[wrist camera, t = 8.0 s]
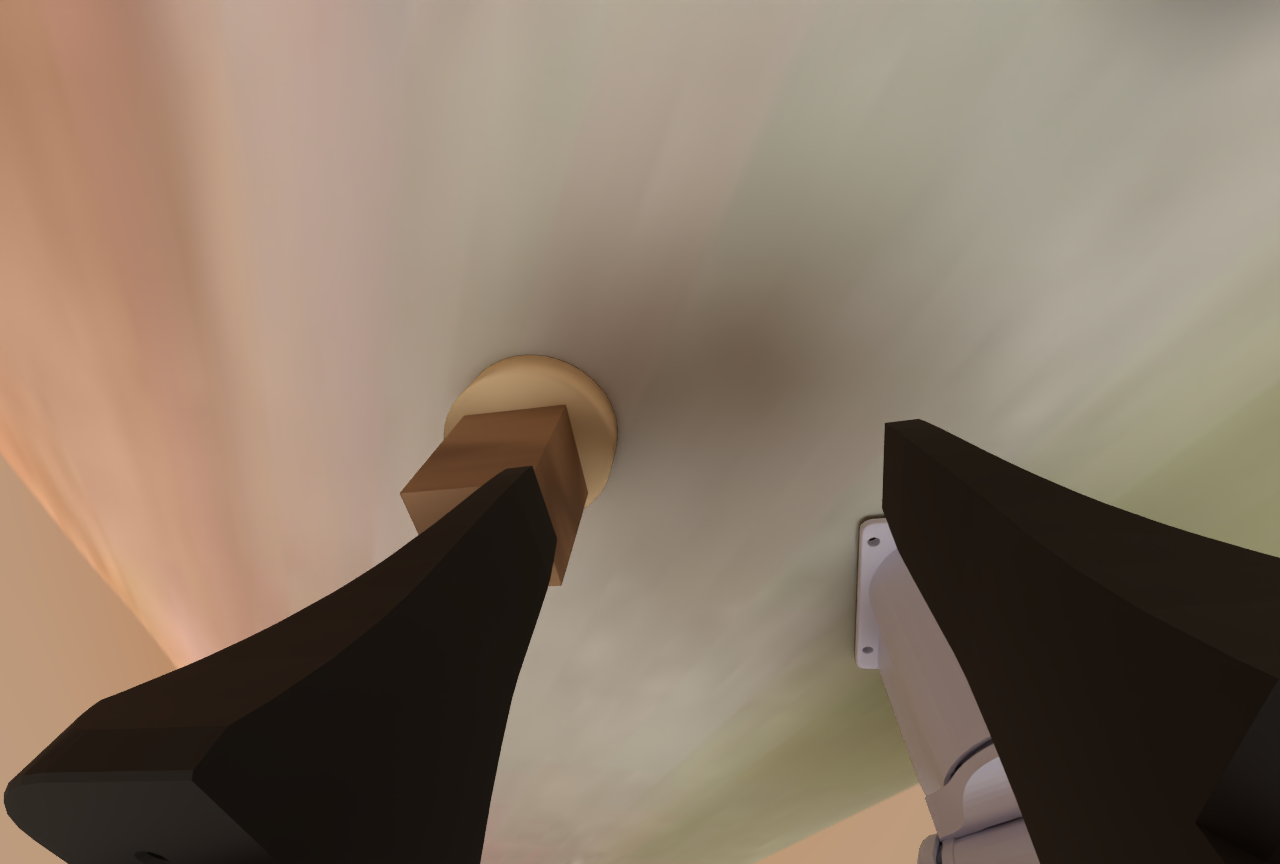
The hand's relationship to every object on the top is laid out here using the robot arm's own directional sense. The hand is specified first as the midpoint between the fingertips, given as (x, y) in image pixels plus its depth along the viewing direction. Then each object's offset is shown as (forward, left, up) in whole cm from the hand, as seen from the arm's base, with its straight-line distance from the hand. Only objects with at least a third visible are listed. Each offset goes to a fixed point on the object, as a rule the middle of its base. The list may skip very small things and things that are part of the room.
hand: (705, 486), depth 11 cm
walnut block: (-3, +7, -8) cm, 11 cm away
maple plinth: (-3, +7, -10) cm, 13 cm away
